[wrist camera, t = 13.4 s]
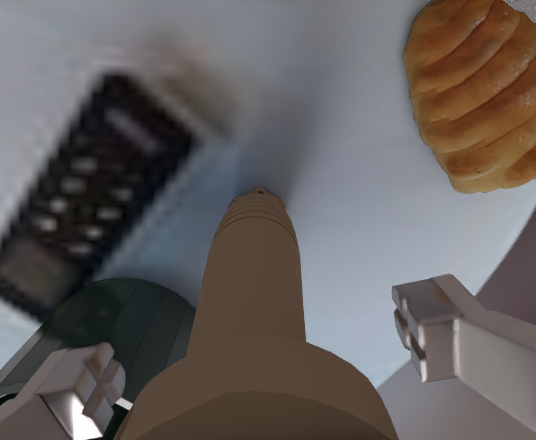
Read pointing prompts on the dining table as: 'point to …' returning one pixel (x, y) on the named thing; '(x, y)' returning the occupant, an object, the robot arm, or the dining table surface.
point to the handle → (256, 351)
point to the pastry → (475, 91)
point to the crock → (110, 336)
